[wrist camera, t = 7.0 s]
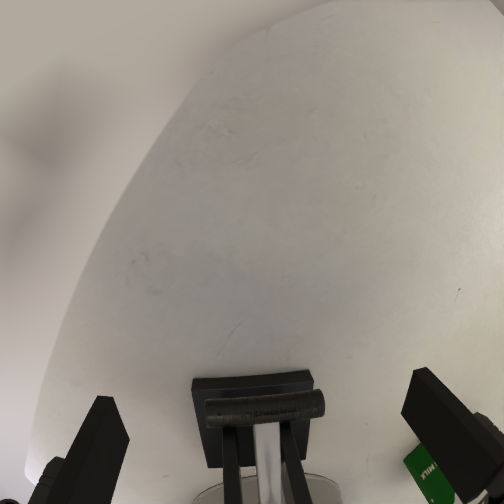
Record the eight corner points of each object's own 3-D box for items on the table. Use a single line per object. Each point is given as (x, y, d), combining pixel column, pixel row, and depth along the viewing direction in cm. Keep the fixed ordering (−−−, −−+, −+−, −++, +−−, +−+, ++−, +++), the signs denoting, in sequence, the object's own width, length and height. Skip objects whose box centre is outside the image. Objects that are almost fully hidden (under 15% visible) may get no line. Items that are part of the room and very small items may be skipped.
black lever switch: (192, 378, 21) (174, 539, 8) (309, 369, 22) (375, 515, 9) (208, 457, 23) (208, 581, 10) (302, 449, 24) (338, 566, 11)
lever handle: (206, 390, 13) (202, 412, 10) (314, 381, 13) (329, 400, 11) (231, 542, 12) (231, 566, 10) (309, 533, 12) (317, 556, 10)
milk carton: (442, 414, 25) (532, 523, 6) (470, 423, 27) (545, 508, 8) (393, 464, 27) (457, 578, 7) (428, 467, 28) (487, 557, 9)
